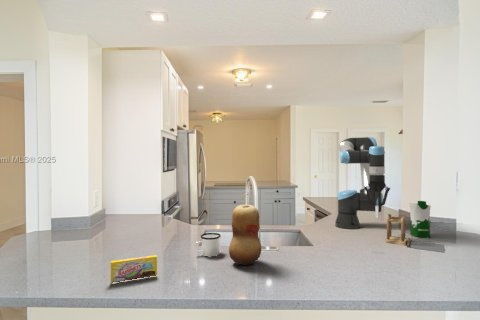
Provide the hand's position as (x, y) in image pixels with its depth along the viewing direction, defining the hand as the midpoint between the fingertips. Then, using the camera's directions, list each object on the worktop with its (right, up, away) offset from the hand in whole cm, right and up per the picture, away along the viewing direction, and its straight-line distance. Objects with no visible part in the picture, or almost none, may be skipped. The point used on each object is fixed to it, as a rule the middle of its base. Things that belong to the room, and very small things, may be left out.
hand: (377, 217), depth 154 cm
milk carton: (+27, -12, +6) cm, 30 cm away
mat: (+19, -12, -12) cm, 25 cm away
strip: (+12, -12, -8) cm, 19 cm away
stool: (+8, -12, -5) cm, 15 cm away
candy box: (-114, -14, -49) cm, 125 cm away
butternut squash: (-73, -13, -34) cm, 81 cm away
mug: (-90, -13, -22) cm, 93 cm away
